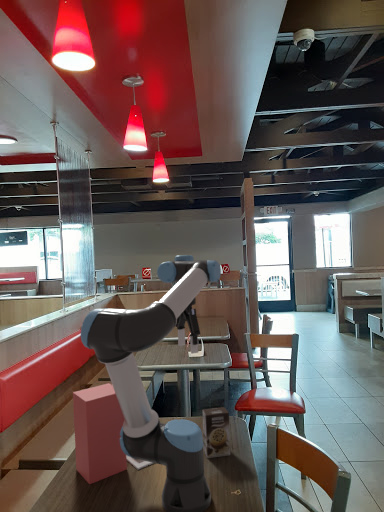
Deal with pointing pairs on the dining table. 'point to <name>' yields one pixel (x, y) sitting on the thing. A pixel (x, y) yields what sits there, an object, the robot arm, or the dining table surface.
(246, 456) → the dining table surface
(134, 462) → the mat
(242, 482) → the dining table surface
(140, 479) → the dining table surface
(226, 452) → the coffee box
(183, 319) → the robot arm
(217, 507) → the dining table surface
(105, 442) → the red rectangular block
